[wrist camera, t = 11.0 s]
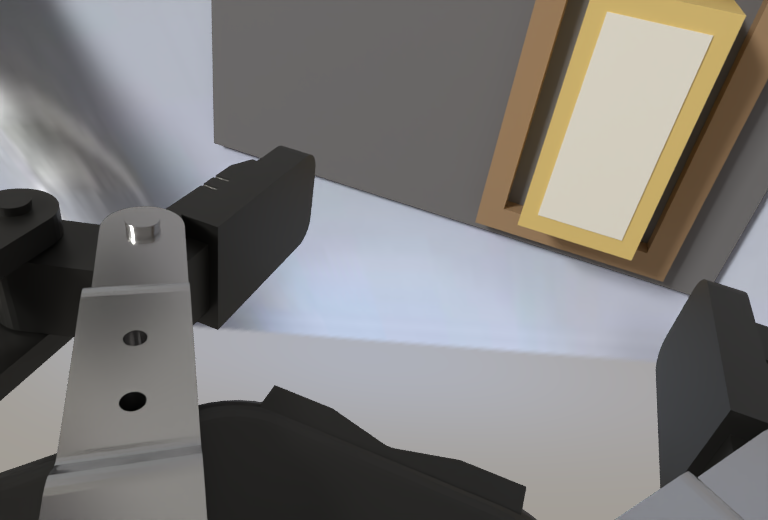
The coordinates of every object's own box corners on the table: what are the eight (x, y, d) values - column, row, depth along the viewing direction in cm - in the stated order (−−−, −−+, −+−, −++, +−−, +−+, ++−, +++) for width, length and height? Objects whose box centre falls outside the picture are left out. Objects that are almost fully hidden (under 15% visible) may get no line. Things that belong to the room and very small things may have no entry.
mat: (218, 140, 36) (204, 148, 35) (214, -190, 27) (194, -193, 26) (703, 293, 30) (705, 310, 28) (910, -68, 21) (926, -65, 19)
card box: (602, -29, 24) (595, -17, 21) (733, -2, 23) (746, 15, 20) (532, 189, 30) (517, 225, 26) (633, 219, 29) (631, 261, 25)
